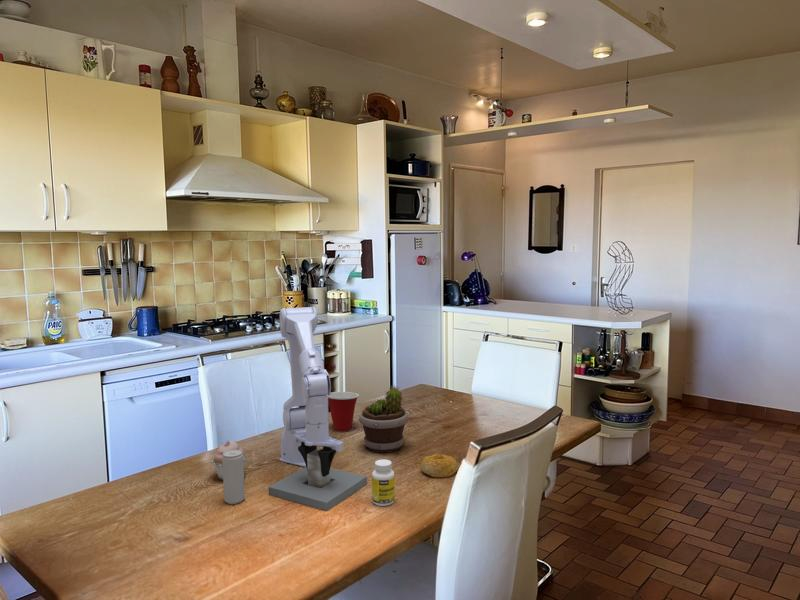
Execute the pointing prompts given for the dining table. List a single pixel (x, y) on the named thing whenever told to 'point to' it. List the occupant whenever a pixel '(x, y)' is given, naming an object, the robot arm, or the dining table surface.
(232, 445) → the cupcake
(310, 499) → the socket board
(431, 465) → the bagel
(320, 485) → the peg
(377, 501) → the supplement bottle
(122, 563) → the dining table surface
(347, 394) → the plastic cup
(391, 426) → the flowerpot
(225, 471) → the beverage can
